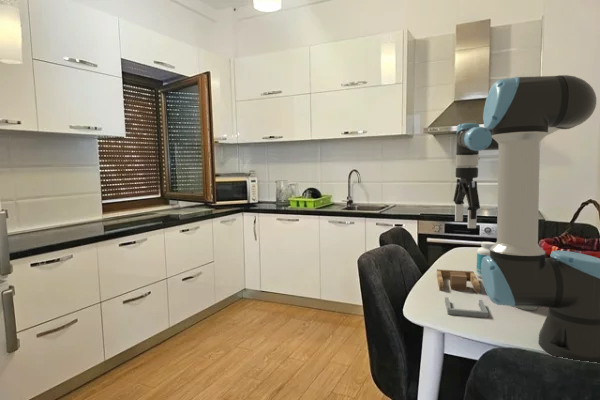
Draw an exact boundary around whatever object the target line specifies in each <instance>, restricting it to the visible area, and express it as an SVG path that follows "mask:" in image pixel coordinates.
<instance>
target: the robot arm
mask: <svg viewBox="0 0 600 400" xmlns="http://www.w3.org/2000/svg"><path fill="white" fill-rule="evenodd" d="M488 91H489V92H488V94H487V96H486V99H485V103H484V107H483V114H482V120H483V121H482V122H483V126H480V125H479V123H478V122H477V123H475V122H472V123H471V122H470V123H469V122H468V123H459V124H458V125H457V127H456V134H455V135H456V145H455V146H456V147H455V148H456V151H455V153H456V155H455V166H456V168H455V178H457V179H456V185H455V190H454V191H455V192H454V195H453V200H452V201H453V202H454V204H455V205H454V206H455V208H454V210H455V211H454V212H455V214H454V222H463V221H464V205H465V202H464V199H465V198H466V201H467V204H468V207H467V229H477V216H478V210H480V208H481V206H480V204H481V203H480V200H479V192H478V181H476V180H475V181H474V179H477V178H478V177H479V168H478V166H479V161H480V157H479V152H480V151H498V153H497V154H498V157H497V159H498V163H497V169H498V170H497V210H496V211H497V215H496V216H497V219H496V222H497V224H496V226H497V227H496V230H497V231H496V242H494V243H495V244H494V245H493V246H492V247H491V248H490V256H486V257H483V258H482V263H481V273H482V278H481V279H482V284H483V287H484V290H485V293H486V295H487V297H488V298H489V300H490V301H491V302H492V303H493V304H495V305H498V306H505V307H506V306H507V307H508V306H509V307H511V308H514V307H515V306H522V307H538V308H548V313H547V315H546V318H545V320H544V322H543V324H542V325H541V328H540V330H539V333H538V346H540V348H541V349H543V351H545V352H546V353H548V354H550V355H551V356H553V357H556V356H558V357H563V358H568V359H573V360H580V361H589V362H597V363H600V258H598V257H597V256H592V255H590V254H589V255H588V254H585V253H580V252H576V251H575V252H574V251H570V250H558V249H557V250H553V251H551V253H550V254H549V255H550V257H546V251H545V250H544V249H543V247H541V246H540V245H539V213H540V212H539V208H540V205H539V204H540V163H541V162H540V161H541V159H540V158H541V157H540V156H541V155H540V154H541V142H542V140H543V139H545V138H546V137H547V136H548V135H552V134H554V133H555V132H558V131H559V130H570V129H573V128H575V127H578V126H579V125H582V124H583V123H584V122H586V121H587V120H588V119H590V118H591V116H592V115H593V113H594V111H595V109H596V107H597V96H596V91H595V90H594V87H593V86H592V85H591V84H590V83H588V82H587V81H586V80H584V79H582V78H580V77H577V76H574V75H568V74H567V75H566V74H565V75H564V74H563V75H560V74H559V75H547V76H546V75H545V76H544V75H542V76H514V77H510V78H501V79H498V80H496V81H495V82H494V83H493V84H492V85H491V87H490V89H489V90H488ZM515 308H516V307H515ZM558 357H557V358H558Z"/></svg>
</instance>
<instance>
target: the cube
mask: <svg viewBox="0 0 600 400" xmlns="http://www.w3.org/2000/svg"><path fill="white" fill-rule="evenodd" d="M467 281H468V280H467V276H466V274H465V273H460V272H450V279H449V287H450V290H452V291H454V290H455V291H464V292H465V291H466V292H467V287H468V286H467V285H468V284H467Z"/></svg>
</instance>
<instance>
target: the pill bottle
mask: <svg viewBox="0 0 600 400" xmlns="http://www.w3.org/2000/svg"><path fill="white" fill-rule="evenodd" d="M495 243H496V242H492V241H482V242H480V246H481V247H479V248H478V249H477V251H476V272H475V273H476V274H475V275H476V277H477V278H479V279H482V273H481V263H482V258H483V257H486V256H490V248H491V247H492V246H493V245H494V244H495Z"/></svg>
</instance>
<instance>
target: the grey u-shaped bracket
mask: <svg viewBox="0 0 600 400" xmlns="http://www.w3.org/2000/svg"><path fill="white" fill-rule="evenodd" d="M444 303H445V307H446V312H447V313H446V314H447V315H452V316H462V317H463V316H465V317H477V318H486V319H488V318H489V311H488V309H487V307H486V305H485V303H484V301H483V300H482V299H478V306H479V308H480V310H477V309H476V310H475V309H465V308H464V309H463V308H453V307H452V308H451V303H450V299H449V297H446V296H445V297H444Z"/></svg>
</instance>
